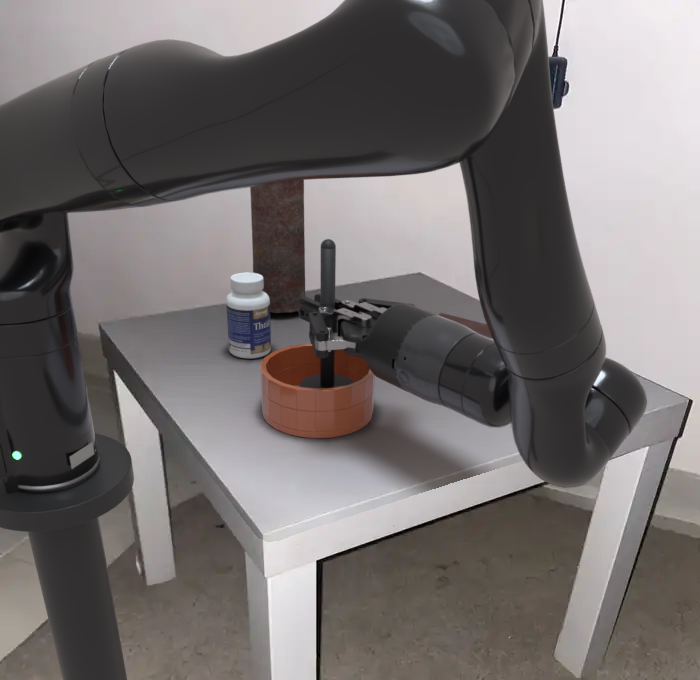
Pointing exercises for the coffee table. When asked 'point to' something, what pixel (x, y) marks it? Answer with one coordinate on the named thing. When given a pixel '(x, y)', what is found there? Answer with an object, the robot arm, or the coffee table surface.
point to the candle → (279, 242)
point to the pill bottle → (248, 316)
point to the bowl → (315, 394)
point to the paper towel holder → (328, 298)
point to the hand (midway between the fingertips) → (309, 305)
